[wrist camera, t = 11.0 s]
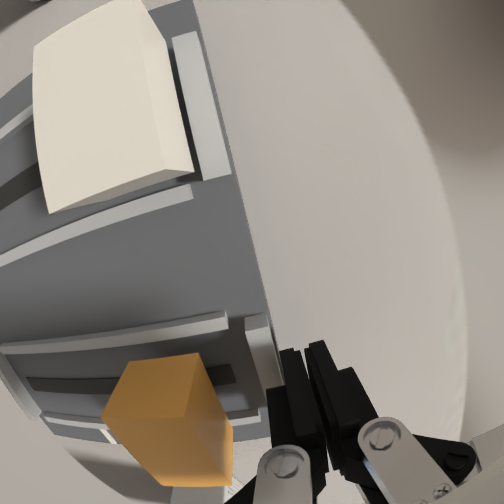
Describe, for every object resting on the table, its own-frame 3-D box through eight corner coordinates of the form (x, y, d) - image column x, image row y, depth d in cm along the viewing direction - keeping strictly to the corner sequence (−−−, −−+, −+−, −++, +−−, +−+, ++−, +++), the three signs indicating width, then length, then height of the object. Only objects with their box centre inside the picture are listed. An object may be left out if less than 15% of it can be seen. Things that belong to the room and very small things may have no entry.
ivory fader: (100, 83, 7) (34, 46, 3) (173, 54, 7) (134, -9, 3) (121, 197, 8) (49, 214, 5) (199, 172, 8) (165, 169, 4)
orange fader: (137, 347, 10) (99, 417, 6) (201, 337, 10) (184, 416, 6) (176, 418, 11) (162, 485, 7) (233, 413, 11) (232, 485, 7)
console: (-36, 158, 9) (-67, 160, 6) (198, 21, 9) (187, -17, 6) (64, 417, 14) (49, 443, 11) (291, 405, 14) (299, 445, 11)
